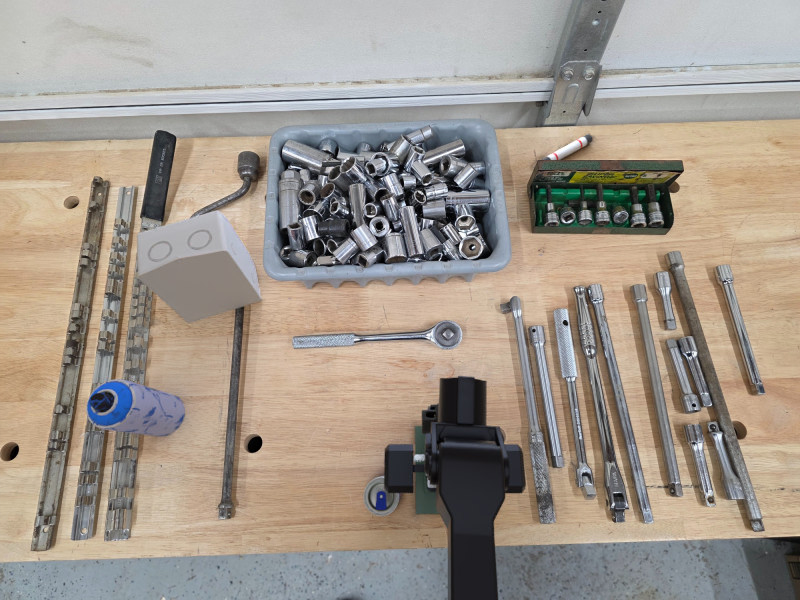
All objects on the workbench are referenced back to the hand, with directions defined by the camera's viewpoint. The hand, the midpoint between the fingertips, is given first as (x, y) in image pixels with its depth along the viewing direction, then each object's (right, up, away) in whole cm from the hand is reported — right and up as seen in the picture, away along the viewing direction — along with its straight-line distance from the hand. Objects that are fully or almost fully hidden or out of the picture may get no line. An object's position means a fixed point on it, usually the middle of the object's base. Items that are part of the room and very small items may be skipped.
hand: (448, 468), depth 69 cm
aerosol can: (-50, +4, +14) cm, 52 cm away
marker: (+28, +58, +31) cm, 71 cm away
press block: (0, -4, +9) cm, 10 cm away
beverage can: (-10, -7, +8) cm, 15 cm away
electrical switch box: (-44, +30, +23) cm, 58 cm away
